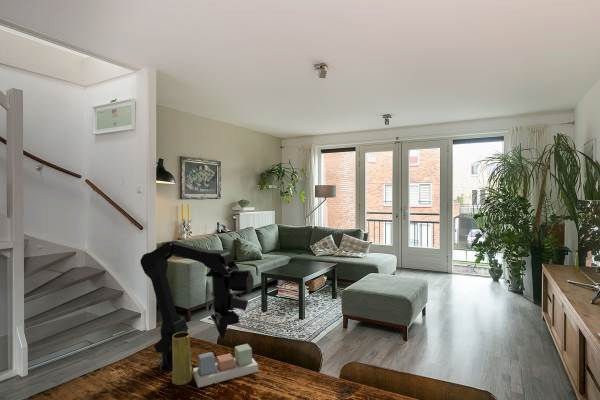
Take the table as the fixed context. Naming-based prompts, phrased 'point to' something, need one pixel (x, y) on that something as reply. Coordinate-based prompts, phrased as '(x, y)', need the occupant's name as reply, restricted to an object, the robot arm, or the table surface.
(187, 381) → the vase
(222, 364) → the salmon block
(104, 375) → the table surface
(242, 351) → the sage button
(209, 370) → the pale blue block
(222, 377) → the button board
